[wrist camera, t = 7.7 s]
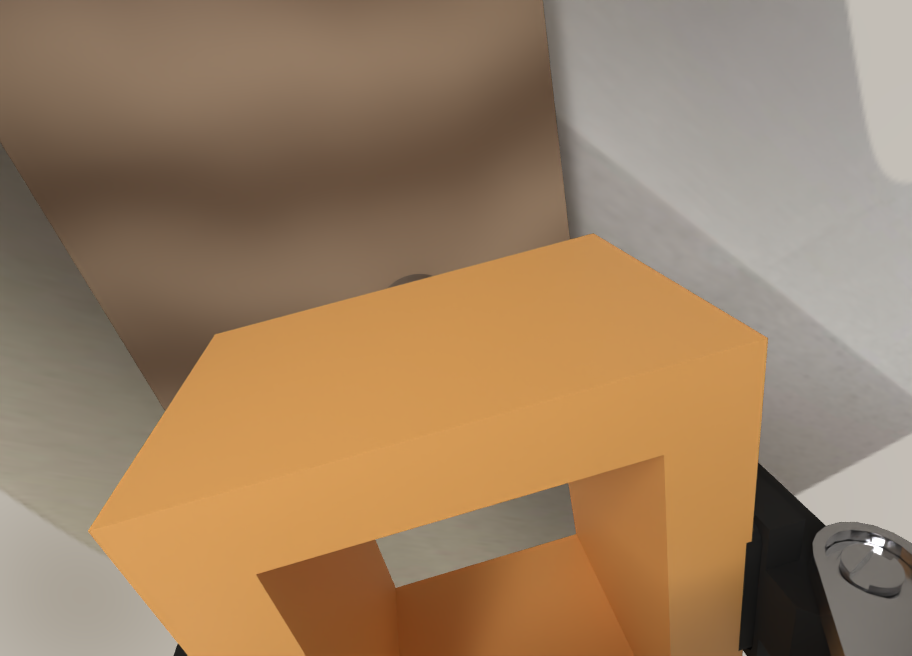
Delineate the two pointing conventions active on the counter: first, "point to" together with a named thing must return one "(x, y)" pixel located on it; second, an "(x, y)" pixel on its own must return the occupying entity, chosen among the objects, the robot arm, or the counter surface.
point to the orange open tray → (457, 468)
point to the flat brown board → (276, 152)
